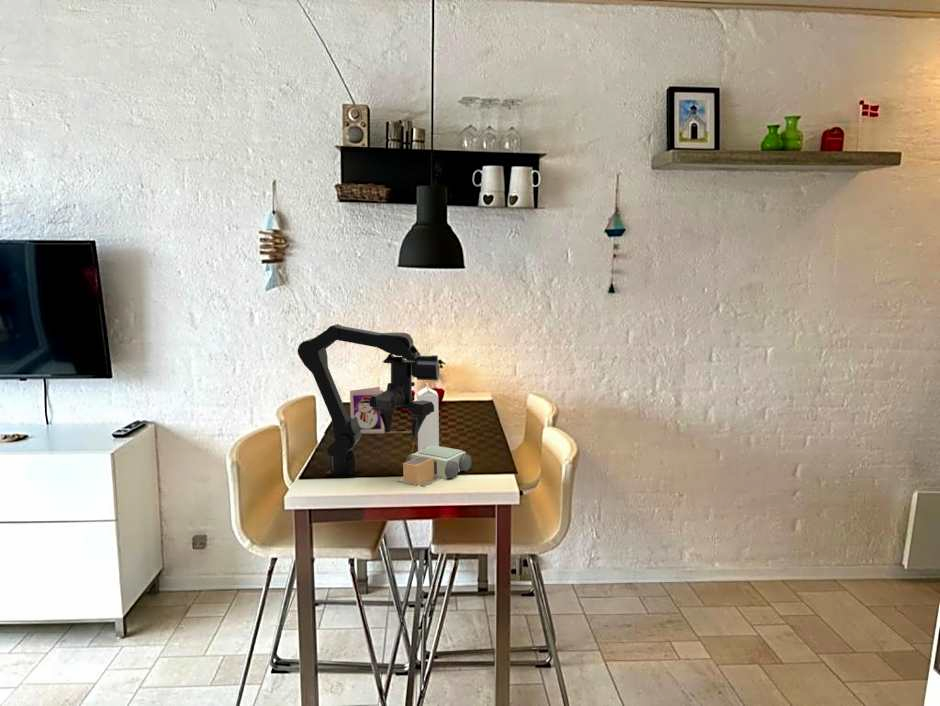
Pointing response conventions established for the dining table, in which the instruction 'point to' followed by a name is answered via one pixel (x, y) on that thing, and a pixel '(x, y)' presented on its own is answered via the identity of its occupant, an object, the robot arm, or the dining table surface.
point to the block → (418, 469)
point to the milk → (429, 420)
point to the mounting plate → (425, 482)
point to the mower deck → (445, 460)
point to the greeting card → (366, 410)
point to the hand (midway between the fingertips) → (401, 434)
